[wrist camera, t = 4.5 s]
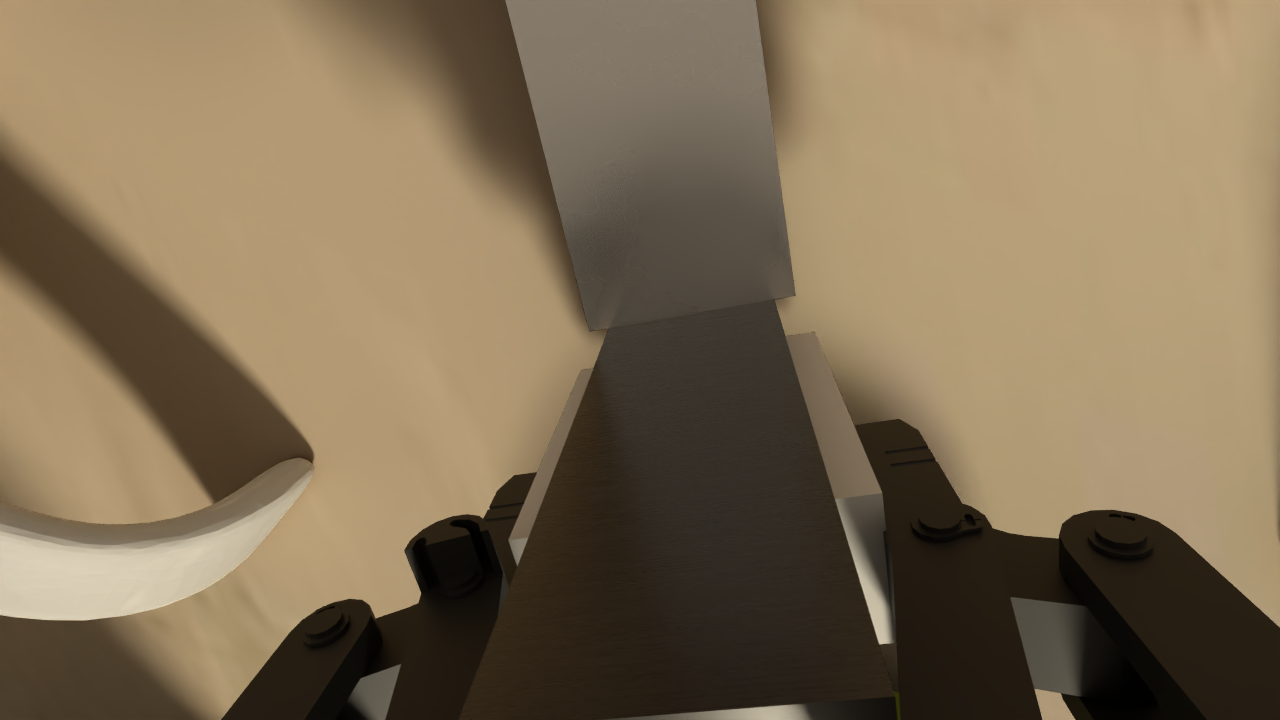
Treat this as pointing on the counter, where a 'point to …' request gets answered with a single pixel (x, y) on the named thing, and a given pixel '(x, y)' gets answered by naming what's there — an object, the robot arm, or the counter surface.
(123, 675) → the counter surface
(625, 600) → the grey metal prism
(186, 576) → the spoon rest
